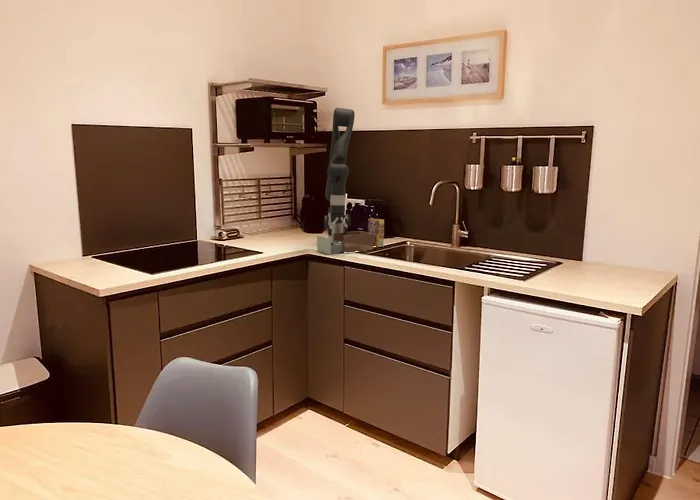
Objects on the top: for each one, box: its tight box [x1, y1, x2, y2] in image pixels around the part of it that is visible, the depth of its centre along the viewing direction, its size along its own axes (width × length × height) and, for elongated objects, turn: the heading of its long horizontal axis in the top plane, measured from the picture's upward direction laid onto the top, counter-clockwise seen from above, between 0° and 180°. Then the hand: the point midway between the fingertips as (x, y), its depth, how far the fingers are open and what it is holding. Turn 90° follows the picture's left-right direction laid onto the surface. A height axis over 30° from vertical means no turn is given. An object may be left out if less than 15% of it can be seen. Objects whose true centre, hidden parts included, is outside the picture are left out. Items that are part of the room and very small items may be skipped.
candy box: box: [367, 218, 385, 247], centre depth 289 cm, size 9×4×15 cm, turn 39°
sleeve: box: [333, 230, 374, 253], centre depth 279 cm, size 12×17×9 cm
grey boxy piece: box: [316, 235, 344, 256], centre depth 274 cm, size 13×17×8 cm
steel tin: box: [333, 241, 344, 245], centre depth 274 cm, size 5×5×4 cm
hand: (337, 235), depth 274 cm, fingers open, 8 cm apart
